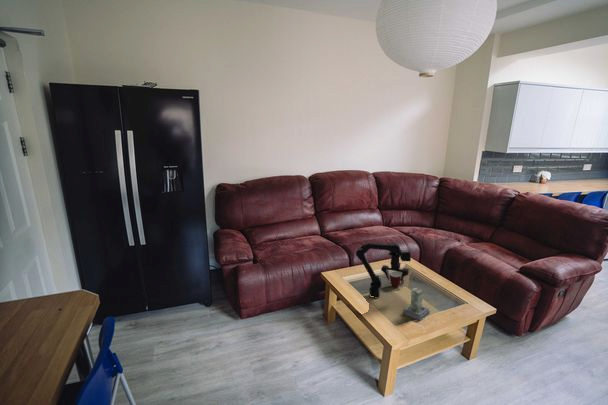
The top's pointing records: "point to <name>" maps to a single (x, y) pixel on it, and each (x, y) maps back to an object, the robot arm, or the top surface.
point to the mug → (395, 279)
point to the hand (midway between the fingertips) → (394, 281)
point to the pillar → (416, 300)
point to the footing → (415, 315)
